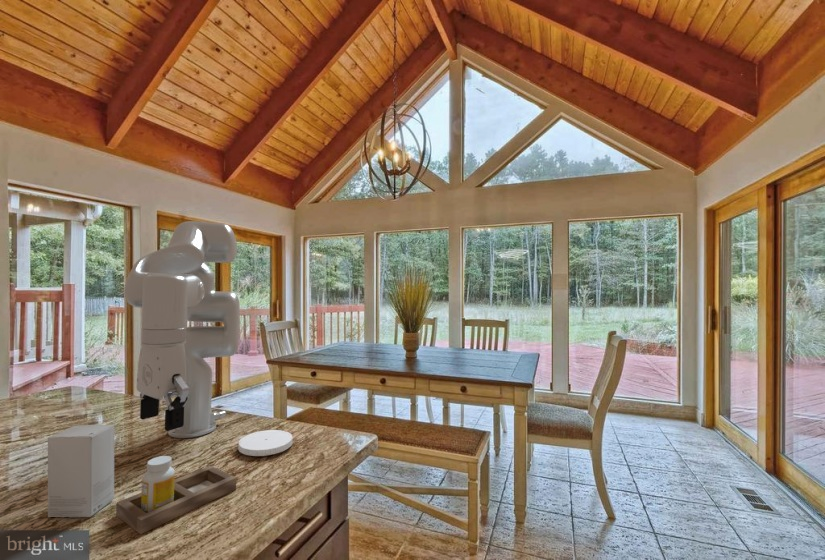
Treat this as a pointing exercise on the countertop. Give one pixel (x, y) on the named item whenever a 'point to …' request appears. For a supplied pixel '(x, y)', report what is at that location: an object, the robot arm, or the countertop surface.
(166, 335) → the robot arm
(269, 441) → the plastic lid
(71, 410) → the countertop surface
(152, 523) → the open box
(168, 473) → the supplement bottle
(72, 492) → the skincare box
